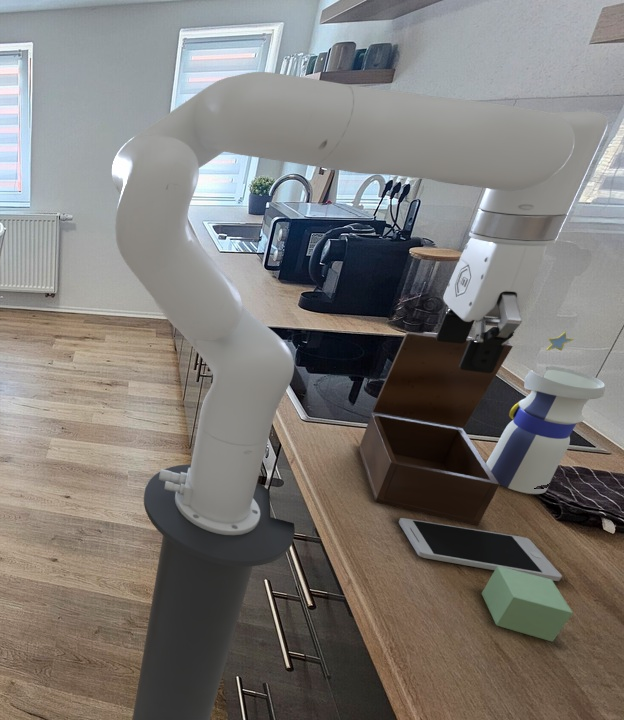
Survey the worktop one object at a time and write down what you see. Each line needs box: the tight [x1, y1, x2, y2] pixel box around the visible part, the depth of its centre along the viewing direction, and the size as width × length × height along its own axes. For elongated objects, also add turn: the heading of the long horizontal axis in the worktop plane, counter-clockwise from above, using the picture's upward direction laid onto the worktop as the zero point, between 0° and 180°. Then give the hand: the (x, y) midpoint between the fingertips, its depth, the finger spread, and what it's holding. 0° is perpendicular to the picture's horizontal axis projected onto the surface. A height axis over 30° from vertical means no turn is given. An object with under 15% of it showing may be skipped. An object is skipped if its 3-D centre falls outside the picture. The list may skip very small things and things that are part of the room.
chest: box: [358, 412, 501, 526], centre depth 81 cm, size 16×13×8 cm
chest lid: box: [372, 331, 514, 428], centre depth 82 cm, size 16×13×5 cm
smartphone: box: [398, 517, 563, 582], centre depth 70 cm, size 7×16×1 cm, turn 73°
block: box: [481, 566, 574, 642], centre depth 60 cm, size 5×5×5 cm
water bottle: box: [485, 331, 606, 495], centre depth 78 cm, size 8×9×25 cm
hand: (461, 355), depth 67 cm, fingers open, 9 cm apart
